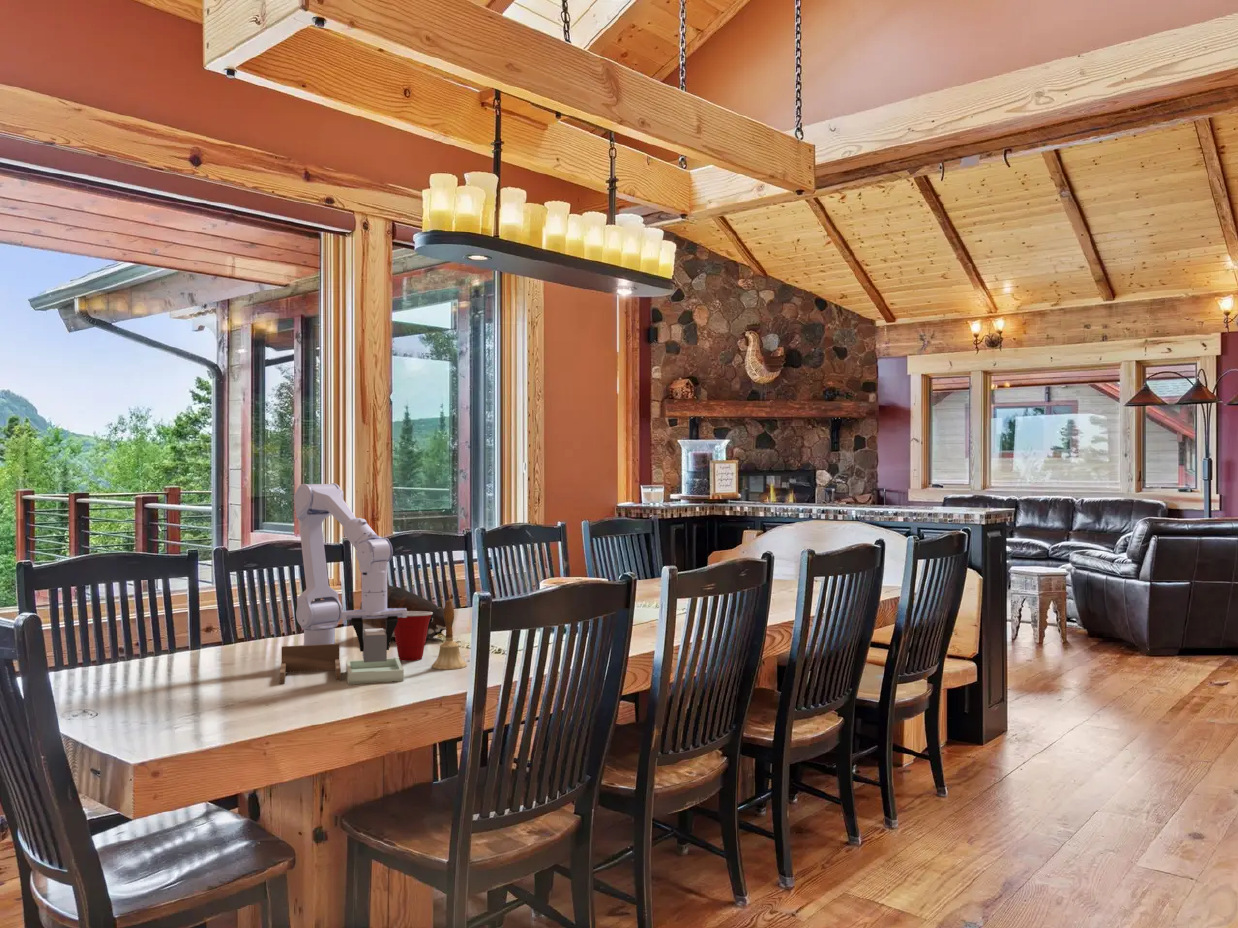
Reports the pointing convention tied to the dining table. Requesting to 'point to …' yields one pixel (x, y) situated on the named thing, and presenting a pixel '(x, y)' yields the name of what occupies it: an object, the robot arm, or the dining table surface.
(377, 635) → the grey upright block
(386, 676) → the tray
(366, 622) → the clay pot
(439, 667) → the hand bell
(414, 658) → the plastic cup
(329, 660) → the dock
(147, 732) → the dining table surface
